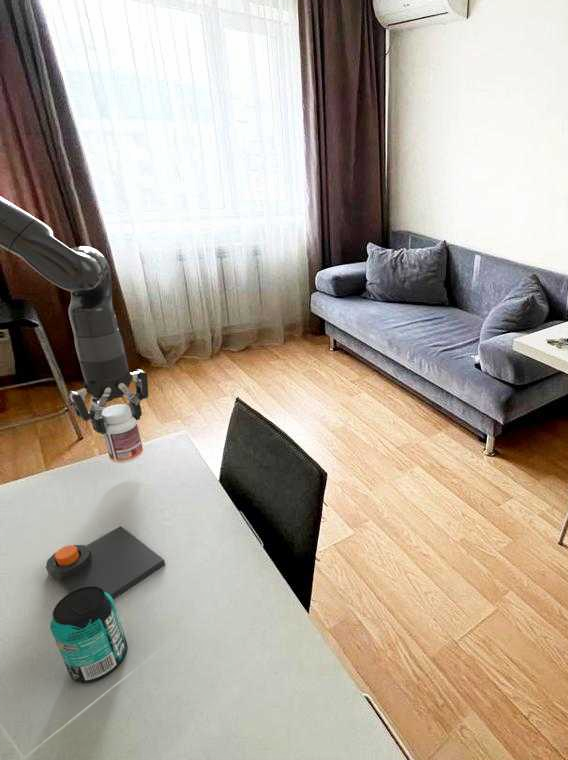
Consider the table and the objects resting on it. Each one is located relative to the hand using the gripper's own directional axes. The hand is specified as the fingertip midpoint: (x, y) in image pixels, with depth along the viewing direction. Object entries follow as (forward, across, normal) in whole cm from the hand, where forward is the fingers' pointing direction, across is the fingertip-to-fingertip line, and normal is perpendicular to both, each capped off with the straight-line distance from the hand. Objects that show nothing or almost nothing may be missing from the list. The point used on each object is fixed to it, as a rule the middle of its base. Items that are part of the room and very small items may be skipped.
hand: (119, 425), depth 103 cm
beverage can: (+13, +25, +38) cm, 47 cm away
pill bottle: (+8, 0, 0) cm, 8 cm away
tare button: (+10, +19, +18) cm, 28 cm away
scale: (+13, +16, +22) cm, 30 cm away
